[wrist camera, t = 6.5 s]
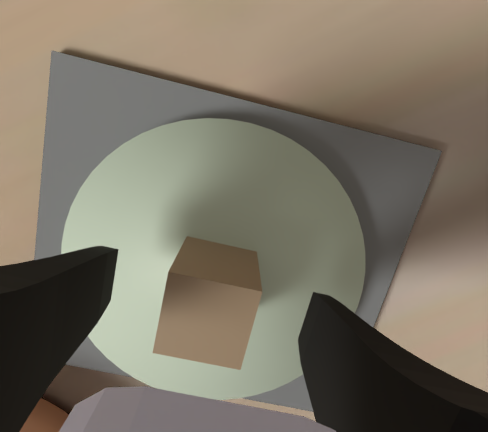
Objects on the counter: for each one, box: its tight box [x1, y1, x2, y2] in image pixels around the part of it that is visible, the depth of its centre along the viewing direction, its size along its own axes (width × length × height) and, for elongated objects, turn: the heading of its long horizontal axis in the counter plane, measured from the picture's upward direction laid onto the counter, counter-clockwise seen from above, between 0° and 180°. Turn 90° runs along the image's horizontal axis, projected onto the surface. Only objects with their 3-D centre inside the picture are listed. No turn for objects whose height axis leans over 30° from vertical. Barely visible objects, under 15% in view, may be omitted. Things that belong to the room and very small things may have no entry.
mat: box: [34, 51, 442, 412], centre depth 15 cm, size 16×14×1 cm
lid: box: [61, 118, 365, 400], centre depth 12 cm, size 13×13×4 cm
